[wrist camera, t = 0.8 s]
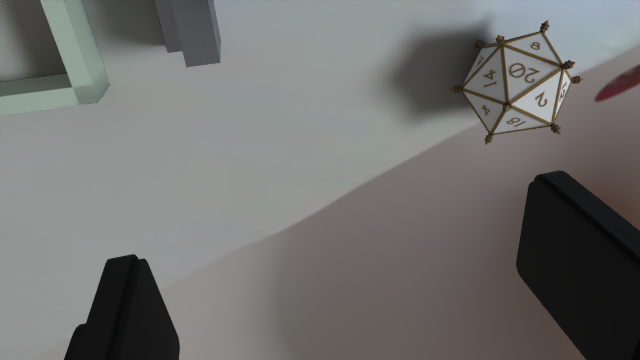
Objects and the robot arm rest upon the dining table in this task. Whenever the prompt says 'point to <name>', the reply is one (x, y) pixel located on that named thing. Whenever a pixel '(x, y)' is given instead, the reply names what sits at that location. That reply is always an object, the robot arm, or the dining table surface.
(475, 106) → the game die
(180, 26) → the rake
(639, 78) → the dining table surface
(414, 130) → the dining table surface
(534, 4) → the dining table surface
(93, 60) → the sage pen
